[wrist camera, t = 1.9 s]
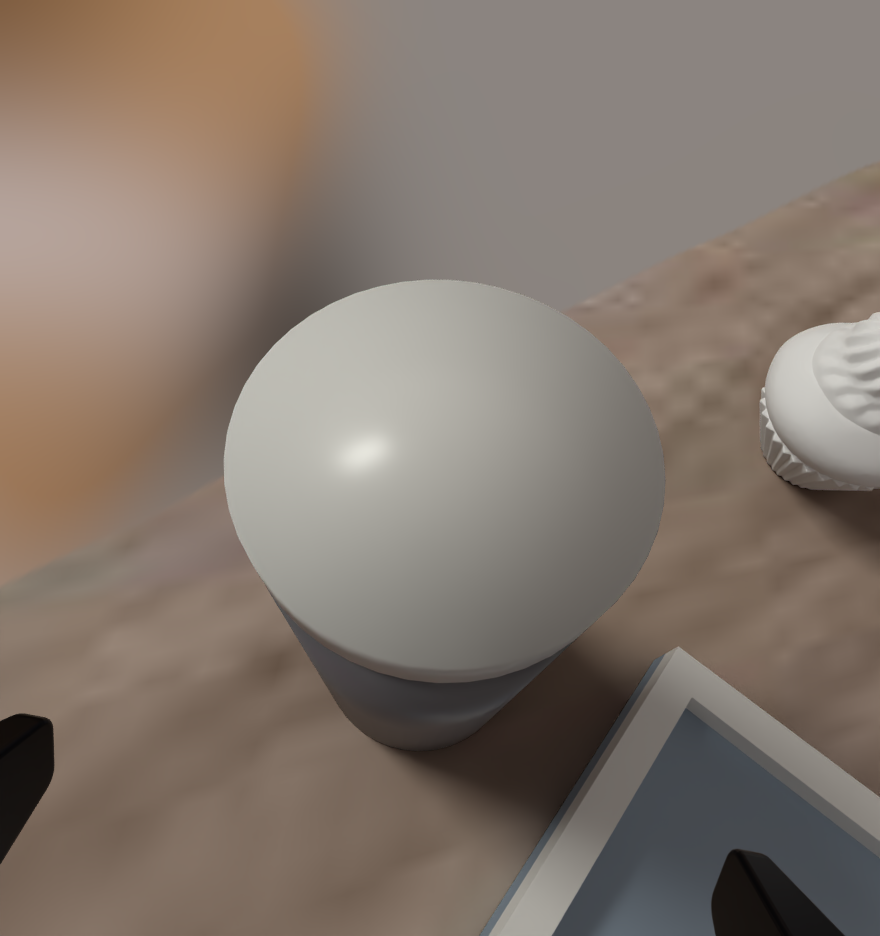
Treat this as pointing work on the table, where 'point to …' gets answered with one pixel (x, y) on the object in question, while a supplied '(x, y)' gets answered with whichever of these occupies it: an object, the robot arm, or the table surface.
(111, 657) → the table surface
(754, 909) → the robot arm
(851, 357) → the muffin
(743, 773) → the charging board
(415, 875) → the table surface
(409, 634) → the grey cup with lid
